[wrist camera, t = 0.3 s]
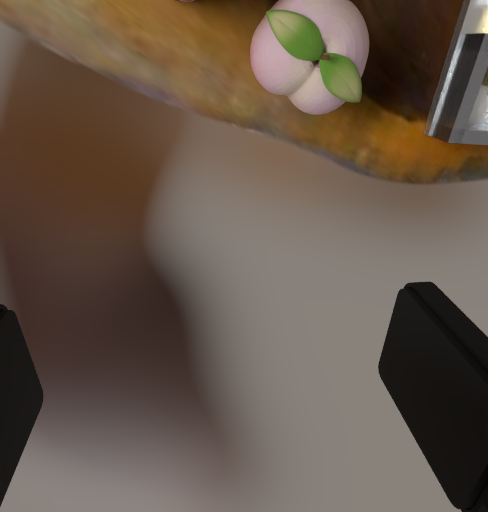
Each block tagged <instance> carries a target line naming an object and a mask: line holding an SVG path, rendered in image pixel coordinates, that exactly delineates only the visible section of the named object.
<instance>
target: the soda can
mask: <svg viewBox="0 0 488 512" xmlns="http://www.w3.org/2000/svg"><path fill="white" fill-rule="evenodd" d="M177 1H182V2H192V1H197V0H177Z"/></svg>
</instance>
